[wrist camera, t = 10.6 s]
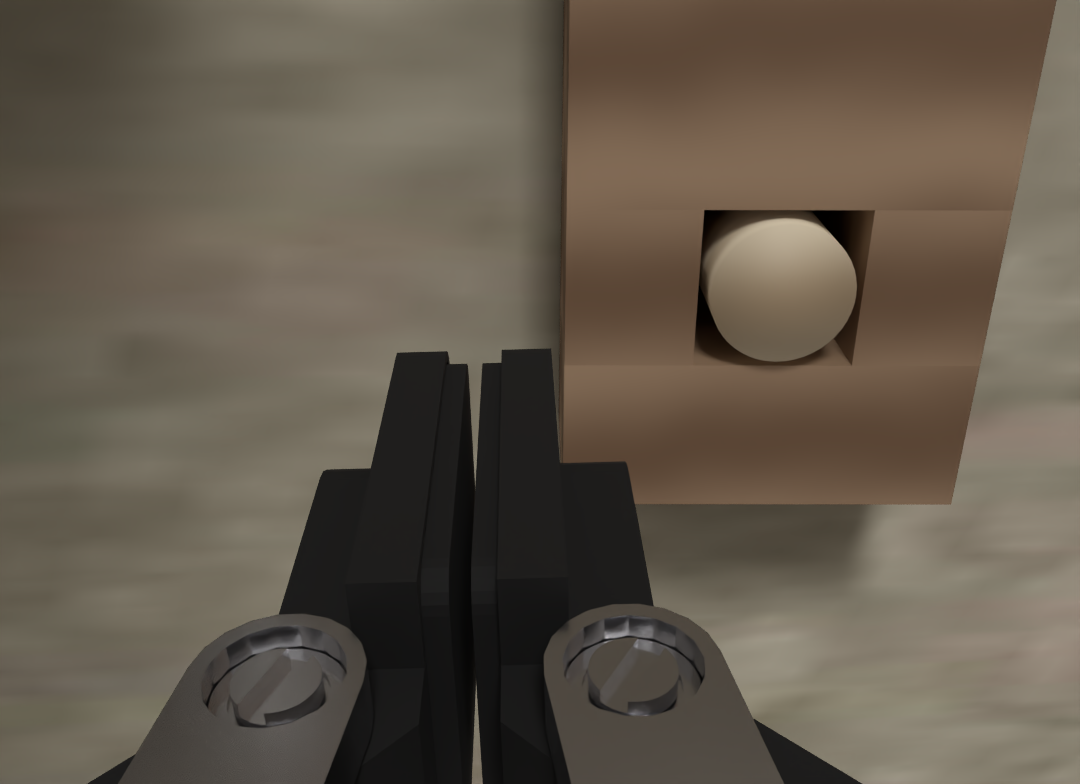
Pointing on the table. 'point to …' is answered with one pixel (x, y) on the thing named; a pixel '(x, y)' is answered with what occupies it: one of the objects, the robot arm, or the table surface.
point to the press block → (787, 184)
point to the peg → (775, 281)
